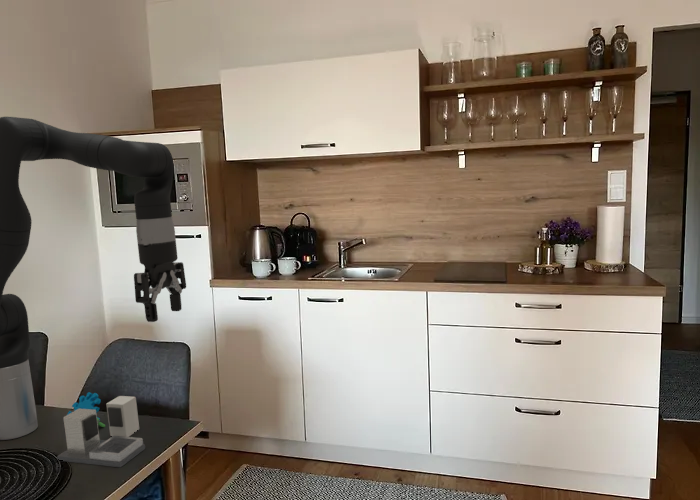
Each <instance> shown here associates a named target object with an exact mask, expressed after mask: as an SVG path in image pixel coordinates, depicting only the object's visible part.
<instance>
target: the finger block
mask: <svg viewBox="0 0 700 500" xmlns="http://www.w3.org/2000/svg"><path fill="white" fill-rule="evenodd" d="M105 405H106V412H107V420H108V428H109V435H110V436H124V437H131V436H132V435H133V434H135V433H137V430H138V431H139V430H140V424H139V414H138V405H137V398H136V396H129V395H128V396H127V395H126V396H125V395H118V396H117V397H115V398H114V399H112V400H110V401H108V402H107V403H106V404H105ZM134 432H135V433H134Z"/></svg>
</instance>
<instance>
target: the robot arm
mask: <svg viewBox="0 0 700 500" xmlns="http://www.w3.org/2000/svg"><path fill="white" fill-rule="evenodd" d="M41 160H66V161H70V162H74V163H77V164H78V165H81V166H84V167H87V168H91V169H98V170H102V171H103V170H104V171H110V172H115V173H118V174H121V175H126V176H128V177H135V178H144V180H143V181H144V182H143V187H142V188H141V189H140V190H138V191H136V193H134V199H133V200H134V209H135V210H134V211H135V213H134V214H135V219H136V220H135V221H136V222H135V223H136V227H135V229H136V230H135V231H136V232H135V233H136V240H137V242H136V243H137V249H138V258H139V259H138V260H139V263H140V264H141V265H143V266H144V271H143V272H134V273H133V284H134V295H135V298H134V299H135V302H136V303H137V304H139V303H140V304H143V306H144V313H145V320H146V321H147V322H148V323H155V322H157V321H158V319H159V318H158V310H157V309H158V308H157V307H158V306H157V303H156V301H157V298H158V295H159V294H160V293H161V292H162V290H163V289H165V288H166V289H167V291H168V292H169V302H170V303H169V304H170V310H171V311H172V312H180V311H182V310H183V309H182V296H181V295H182V292H183V290H184V289H186V288H187V281H186V274H185V268H184V267H185V266H184V263H183V262H182V261H181V262H178V261H177V260H178V250H177V240H176V230H175V229H176V228H175V224H174V221H173V213H172V203H171V193H172V185H173V180H174V169H175V164H174V158H173V156H172V153H171V151H170V150H169V148H168V146H166V145H164V143H163V144H162V143H160V142H147V141H146V142H145V141H135V140H134V141H133V140H125V139H123V138H119V137H115V136H110V135H109V136H108V135H103V134H97V133H88V132H87V133H86V132H74V131H69V130H65V129H61V128H58V127H57V126H53V125H50V124H48V123H45V122H42V121H40V120H38V119H34V118H27V117H19V116H18V117H16V116H0V441H5V440H6V441H7V440H12V439H17V438H21V437H24V436H26V435H28V434H31V433H32V432H34V431H36V429H37V428H38V427H39V424H38V417H37V407H36V401H35V397H34V387H33V382H32V375H31V374H32V373H31V368H30V361H29V350H30V343H31V341H30V330H29V317H28V316H29V315H28V311H27V309H26V306H25V305H26V304H25V302H23V300H22V299H21V298H20V296H18V295H16V294H14V293H4V290H5V287H6V284H7V282H8V280H9V278H10V277H11V275H12V274H13V273H14V270H15V269H16V268H17V266H18V265H20V262H21V261H22V259H23V258H24V255H26V252H27V250H28V247H29V243H30V237H31V230H32V216H31V213H30V210H29V208H28V205H27V203H26V201H25V199H24V198H23V195H22V192H21V189H20V185H19V184H20V181H19V179H20V169H21V164H22V162H35V161H41ZM176 261H177V262H176ZM179 280H180V281H179ZM142 292H143V295H142ZM3 293H4V294H3Z"/></svg>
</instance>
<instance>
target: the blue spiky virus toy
mask: <svg viewBox="0 0 700 500" xmlns="http://www.w3.org/2000/svg"><path fill="white" fill-rule="evenodd" d="M101 400H102V399H100V398H99V394H98V393H96V392H94V393H92V392H90V391H89V392H87V393H86V396H85V395H80V396H79V402H76V401H75V402H74V403H72V406H71V407H72V408H73V409H74V411H75V410H77V409H92V410H96V414H98V412H99V411H100V407H98V406H95V405H100V404H101V402H102V401H101ZM74 411H71V410H69V411H68V412H67V414H66V415H68V414H70V413H72V412H74ZM97 423H98V427H102V428H106V424H104V423H103V422H101V418H100V417H98V416H97Z"/></svg>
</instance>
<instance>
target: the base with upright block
mask: <svg viewBox="0 0 700 500" xmlns="http://www.w3.org/2000/svg"><path fill="white" fill-rule="evenodd" d="M71 412H72V413H70V414H68V413H67V414H68V415H67V414H66V415H64V416H63V423H64V424H63V426H64V431H65V441H66V447H67V449H66V450H64V451H63V452H62V453H60V454H58V455H57V456H56V458H57V460H58V459H59V460H63V461H62V462H69V463H77V464H86V465H95V466H102V467H103V466H105V467H115V468H122V467H124V465H126V464H127V463H128V462H130V461H131V460H132V459H134V458H136V457H137V455H139V454H140V453H142V452H143V451H145V450H146V444H145V443H144V441H143V440H144V439H143V438H142V437H135V436H134V437H133V436H129V437H124V436H112V437H110V438H108V439H106V440H104V439H100V432H99V425H98V423H97V417H98V416H97V413H96V410H92V409H77V410H75V411H71Z"/></svg>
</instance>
